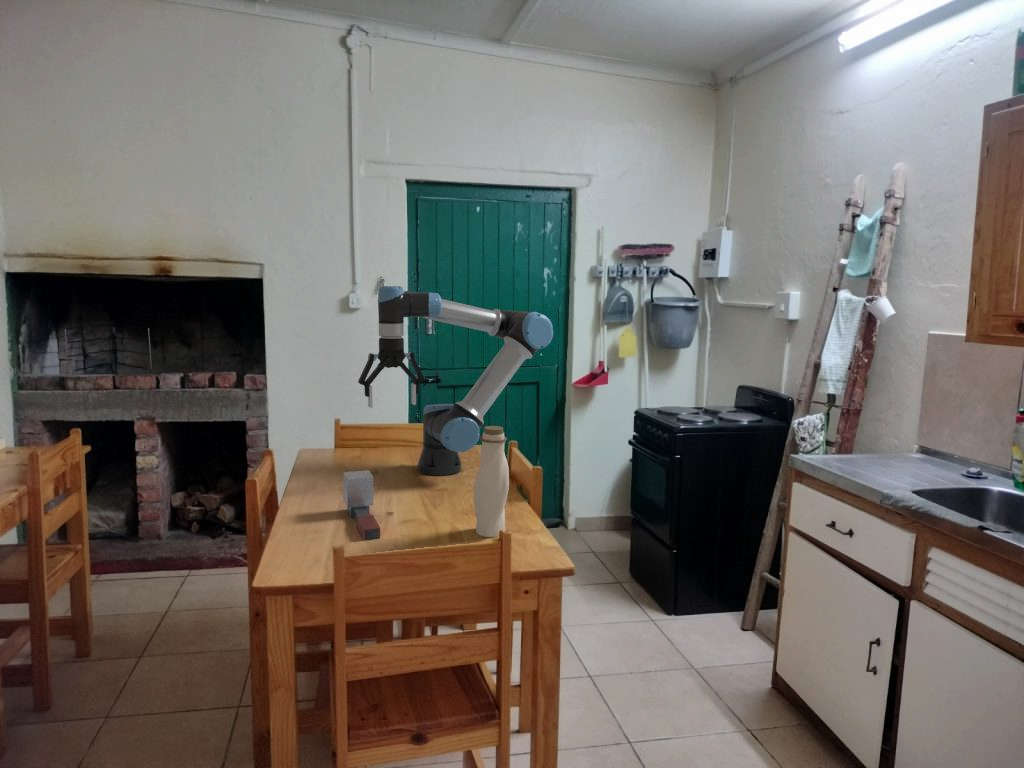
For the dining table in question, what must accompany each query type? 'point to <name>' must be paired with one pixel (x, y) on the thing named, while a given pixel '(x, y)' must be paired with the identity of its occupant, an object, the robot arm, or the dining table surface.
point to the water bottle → (491, 483)
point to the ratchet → (365, 522)
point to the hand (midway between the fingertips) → (392, 405)
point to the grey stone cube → (358, 488)
